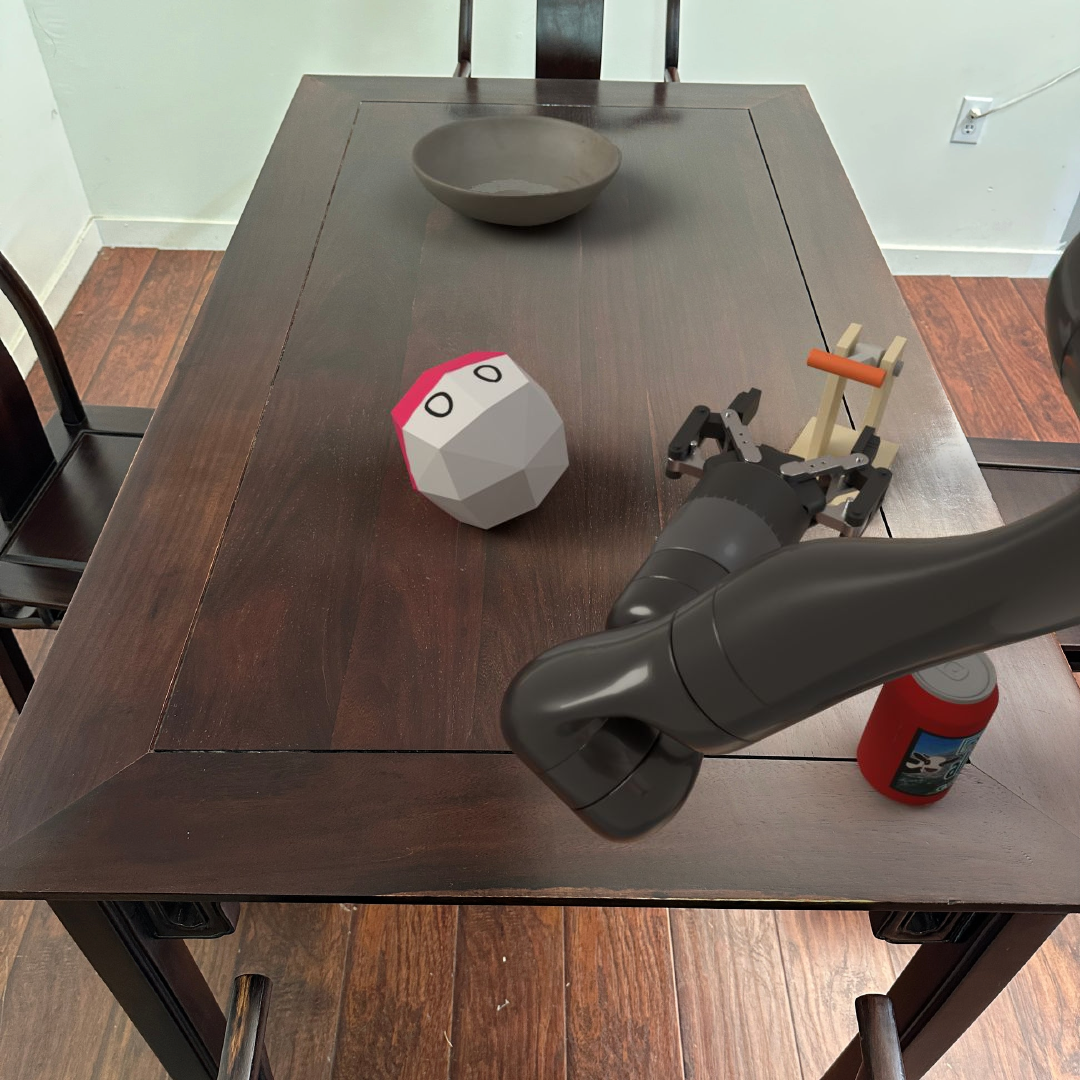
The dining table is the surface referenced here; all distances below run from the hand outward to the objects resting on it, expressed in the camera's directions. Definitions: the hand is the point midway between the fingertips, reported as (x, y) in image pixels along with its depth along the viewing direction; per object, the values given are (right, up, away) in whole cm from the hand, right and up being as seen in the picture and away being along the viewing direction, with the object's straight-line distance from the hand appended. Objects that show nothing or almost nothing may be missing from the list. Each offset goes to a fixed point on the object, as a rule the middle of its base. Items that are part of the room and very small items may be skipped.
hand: (810, 417), depth 70 cm
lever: (+7, +5, +11) cm, 14 cm away
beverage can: (+6, -26, 0) cm, 27 cm away
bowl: (-23, +37, +64) cm, 77 cm away
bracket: (+9, -2, +24) cm, 25 cm away
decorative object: (-25, -5, +20) cm, 33 cm away
